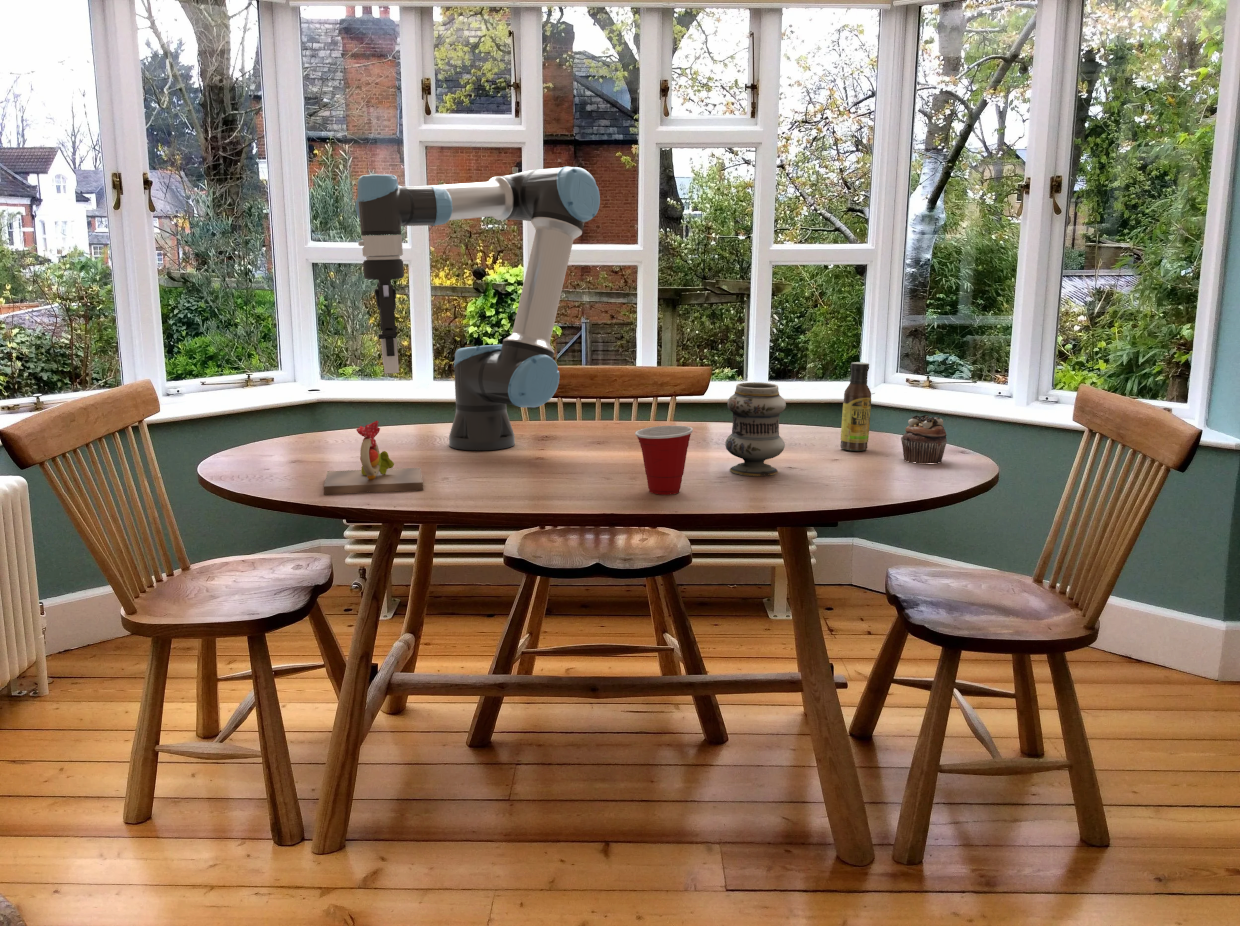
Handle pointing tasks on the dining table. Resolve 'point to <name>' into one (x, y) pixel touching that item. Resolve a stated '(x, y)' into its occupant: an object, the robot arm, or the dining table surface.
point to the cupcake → (924, 440)
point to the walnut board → (373, 481)
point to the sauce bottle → (856, 410)
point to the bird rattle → (372, 452)
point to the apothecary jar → (755, 427)
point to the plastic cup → (664, 456)
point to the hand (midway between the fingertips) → (390, 368)
